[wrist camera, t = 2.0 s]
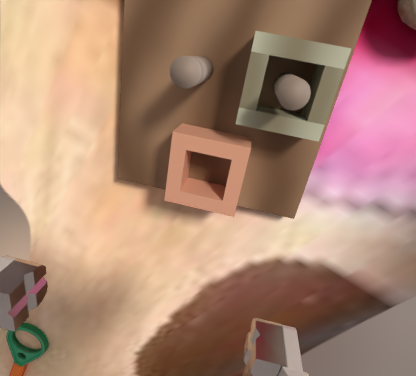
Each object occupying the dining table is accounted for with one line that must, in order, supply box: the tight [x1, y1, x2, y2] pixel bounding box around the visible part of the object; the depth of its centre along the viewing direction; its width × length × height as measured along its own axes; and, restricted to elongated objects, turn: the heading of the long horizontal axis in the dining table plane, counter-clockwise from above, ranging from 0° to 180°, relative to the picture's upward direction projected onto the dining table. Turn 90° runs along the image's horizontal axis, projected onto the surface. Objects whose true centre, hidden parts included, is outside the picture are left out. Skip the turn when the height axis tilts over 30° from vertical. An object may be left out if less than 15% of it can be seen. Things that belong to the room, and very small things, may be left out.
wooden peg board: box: [118, 0, 372, 219], centre depth 21 cm, size 17×20×8 cm
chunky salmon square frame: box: [164, 123, 252, 217], centre depth 24 cm, size 6×6×3 cm
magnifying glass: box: [6, 323, 49, 376], centre depth 44 cm, size 15×6×2 cm, turn 153°
